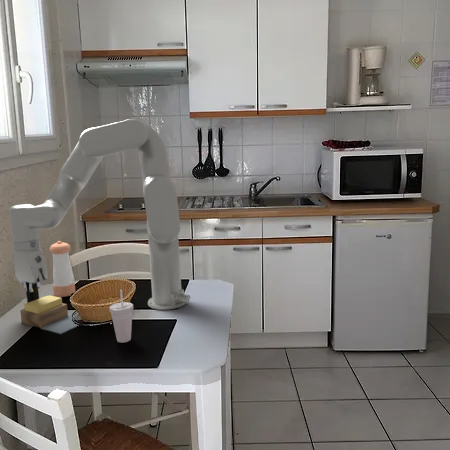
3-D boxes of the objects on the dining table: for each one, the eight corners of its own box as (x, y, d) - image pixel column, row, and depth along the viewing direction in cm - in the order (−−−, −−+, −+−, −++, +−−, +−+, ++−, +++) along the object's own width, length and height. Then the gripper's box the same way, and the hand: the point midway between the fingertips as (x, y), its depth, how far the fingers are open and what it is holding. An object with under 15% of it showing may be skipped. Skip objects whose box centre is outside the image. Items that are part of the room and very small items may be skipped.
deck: (68, 316, 154) (66, 304, 153) (41, 327, 145) (39, 315, 145) (48, 311, 158) (47, 299, 158) (21, 322, 150) (20, 310, 149)
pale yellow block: (49, 301, 156) (48, 295, 156) (62, 304, 153) (61, 297, 153) (24, 310, 149) (24, 304, 148) (37, 313, 146) (37, 307, 145)
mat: (89, 320, 149) (89, 319, 149) (60, 334, 140) (60, 333, 140) (70, 316, 154) (69, 315, 154) (40, 328, 145) (40, 327, 145)
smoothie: (139, 335, 137) (136, 287, 134) (129, 345, 131) (125, 295, 128) (119, 334, 139) (115, 286, 136) (107, 343, 133) (103, 293, 130)
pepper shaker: (54, 291, 179) (49, 239, 175) (75, 289, 180) (70, 238, 177) (53, 298, 172) (47, 244, 168) (75, 295, 173) (69, 242, 170)
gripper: (53, 244, 149) (59, 302, 153) (21, 240, 157) (28, 295, 160) (32, 250, 143) (39, 310, 146) (0, 245, 151) (7, 302, 154)
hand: (33, 302), depth 153 cm, fingers closed
